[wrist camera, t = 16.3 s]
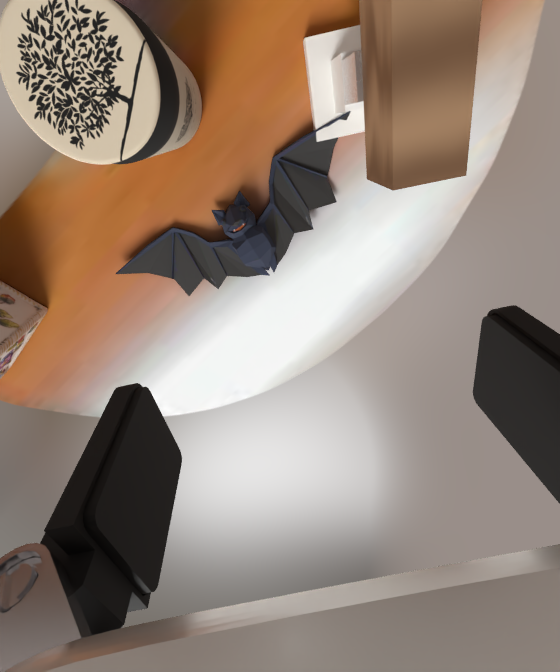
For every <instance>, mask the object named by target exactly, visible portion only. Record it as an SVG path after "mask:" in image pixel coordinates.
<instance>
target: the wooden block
mask: <svg viewBox="0 0 560 672" xmlns="http://www.w3.org/2000/svg"><path fill="white" fill-rule="evenodd" d="M359 10H360V33H361V55H362V78H363V101H364V123H365V146H366V168H367V179H368V180H370V181H373V182H375V183H377V184H380V185H382V186H384V187H386V188H389V189H391V190H397V189H402V188H407V187H412V186H417V185H422V184H427V183H431V182H436V181H441V180H446V179H451V178H456V177H461V176H466V171H467V161H468V150H469V139H470V128H471V118H472V107H473V96H474V85H475V74H476V64H477V53H478V42H479V31H480V21H481V10H482V0H359Z"/></svg>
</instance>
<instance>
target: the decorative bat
mask: <svg viewBox="0 0 560 672" xmlns="http://www.w3.org/2000/svg"><path fill="white" fill-rule="evenodd" d="M350 112H351V111H349V112H347V113H345V114H343V115H341V116H340V117H338V118H336V119H334V120H332V121H331V122H329V123H327V124H325V125H323V126H321V127H320V128H318V129H316V130H314V131H312V132H310V133H309V134H307V135H305V136H303V137H301V138H300V139H299V140H297V141H296V142H294V143H293V144H291V145H290V146H288V147H287V148H285V149H284V150H282V151H281V152H279V153H278V154H277V155H275V156H274V157H273V159H272V164H271V171H270V177H269V192H270V203H269V204H268V206H267V207H266V209H265V210H264V212H263V213H262V215H261V216H260V217H259V219H258V222H257V224H256V220H255V215H254V213H253V212H252V211H251V210H250V209H248V208H247V207H248V206H249V205H250V204H249V202H248V201H247V200H246V199H245V197H244V196H243V195H242V193H241V192H240V191H239V192H238V195H237V197H236V199H235V201H234V205H229V207H228V209H227V211H226V213H225V212H224V210H212V212H213V214H214V217H215V219H216V221H217V223H218V225H222V226H223V229H224V233H225V234H226V235H227V236H229V237H230V238H232V239H233V240H230V239H227V240H221V241H215V242H209V241H207V240H205V239H204V238H202V237H200V236H199V235H197V234H195V233H193V232H190V231H186V230H183V229H179V228H175V227H172V228H171V229H169V230H168V231H166V232H165V233H164V234H162V235H161V236H159V237H158V238H157V239H155V240H154V241H153V242H151V243H150V244H148V245H147V246H146V247H145V248H144V249H143V250H141V251H140V252H139V253H138V254H137V255H136V256H135V257H134V258H133V259H131V260H130V261H129V262H128V263H127V264H126V265H125V266H124V267H122V268H121V269H120V270H119V271H118V272H117V273H116V274H131V273H151V274H155V275H160V276H164V277H168V278H172V279H175V280H176V282H177V283H178V284H179V285H180V286H181V287H182V289H183V290H184V291H185V292H186V293H187V294H188V295H189V296H190V295H191V293H192V292H193V291H194V290H195V289H196V287H197V286H198V285H199V284H200V282H201V281H202V280H203V279H204V278H205V279H206V280H208V281H209V282H210V283H211V284H213V285H214V286H215V287H216V288H218V289H219V287H220V286H221V284H222V283H223V281H224V280H225V278H226V276H241V277H250V276H256V275H269V274H268V273H267V271H266V270H269V268H270V266H271V268H272V270H273V272H275V269H276V267H277V265H278V263H279V262H280V260H281V259H282V258H283V256H284V255H285V253H286V251H287V249H288V247H289V244H290V242H291V240H292V237H293V235H294V233H297V232H302V231H307V230H312V229H313V226H312V222H311V218H310V214H309V210H312V209H315V208H319V207H322V206H325V205H329V204H332V203H335V202H336V199H335V197H334V194H333V192H332V189H331V187H330V184H329V182H328V179H327V176H328V171H329V167H330V162H331V157H332V153H333V148H334V146H335V144H336V141H337V139H338V137H337V138H333V139H328V140H324V141H319V142H316V132H317V131H319V130H321V129H323V128H325V127H328V126H330V125H331V124H333V123H335V122H336V121H338V120H339V119H340V120H347V118H348V116H349V114H350Z"/></svg>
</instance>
